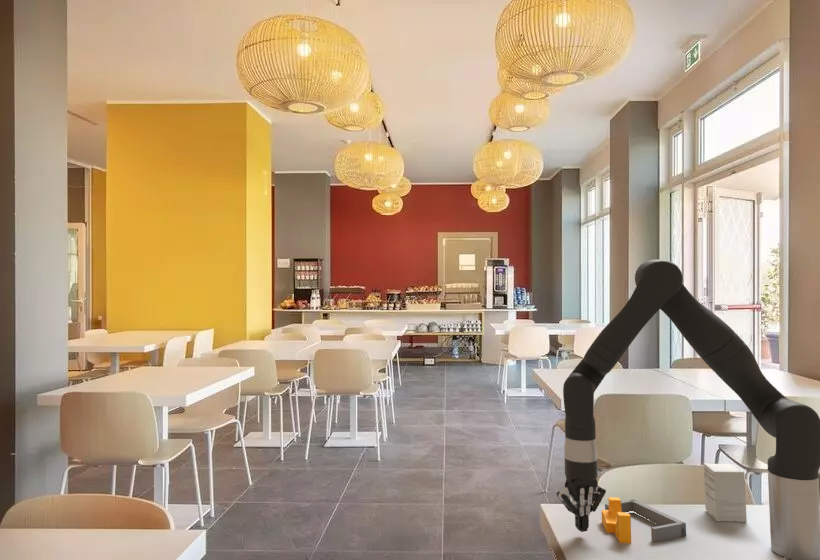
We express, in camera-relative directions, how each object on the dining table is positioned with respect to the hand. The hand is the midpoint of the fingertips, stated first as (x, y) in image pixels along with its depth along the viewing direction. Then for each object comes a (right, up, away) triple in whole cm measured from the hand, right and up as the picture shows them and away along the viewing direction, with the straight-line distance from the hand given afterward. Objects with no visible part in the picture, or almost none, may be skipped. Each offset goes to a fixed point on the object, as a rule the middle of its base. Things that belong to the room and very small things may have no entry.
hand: (582, 530), depth 129 cm
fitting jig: (+17, -2, +6) cm, 18 cm away
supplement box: (+41, -2, +11) cm, 42 cm away
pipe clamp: (+9, -2, +2) cm, 9 cm away
